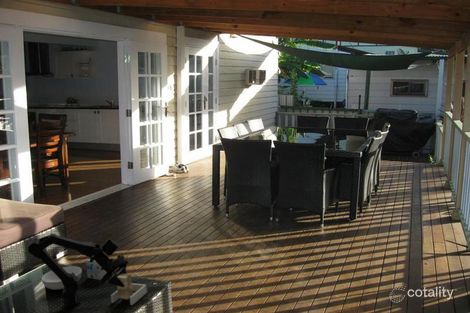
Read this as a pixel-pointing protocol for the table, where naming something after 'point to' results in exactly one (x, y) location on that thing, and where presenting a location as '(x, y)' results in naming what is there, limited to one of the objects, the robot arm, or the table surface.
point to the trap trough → (138, 292)
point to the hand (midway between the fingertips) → (126, 284)
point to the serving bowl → (54, 282)
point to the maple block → (125, 286)
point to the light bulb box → (94, 270)
